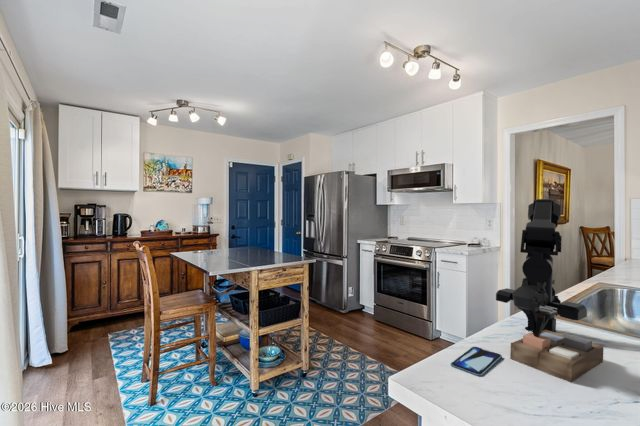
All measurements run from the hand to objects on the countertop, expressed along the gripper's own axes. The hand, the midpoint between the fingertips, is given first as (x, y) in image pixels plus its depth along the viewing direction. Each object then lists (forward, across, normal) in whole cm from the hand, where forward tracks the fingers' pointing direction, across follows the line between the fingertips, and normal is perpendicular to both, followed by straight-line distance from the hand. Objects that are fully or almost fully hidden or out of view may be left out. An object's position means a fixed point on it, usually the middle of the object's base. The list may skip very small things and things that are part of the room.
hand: (536, 336), depth 82 cm
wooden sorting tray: (+6, +3, +4) cm, 8 cm away
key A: (+4, +6, 0) cm, 7 cm away
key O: (+3, +6, +8) cm, 10 cm away
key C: (+5, 0, +8) cm, 9 cm away
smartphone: (+6, -7, -15) cm, 17 cm away
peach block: (+3, 0, 0) cm, 3 cm away
